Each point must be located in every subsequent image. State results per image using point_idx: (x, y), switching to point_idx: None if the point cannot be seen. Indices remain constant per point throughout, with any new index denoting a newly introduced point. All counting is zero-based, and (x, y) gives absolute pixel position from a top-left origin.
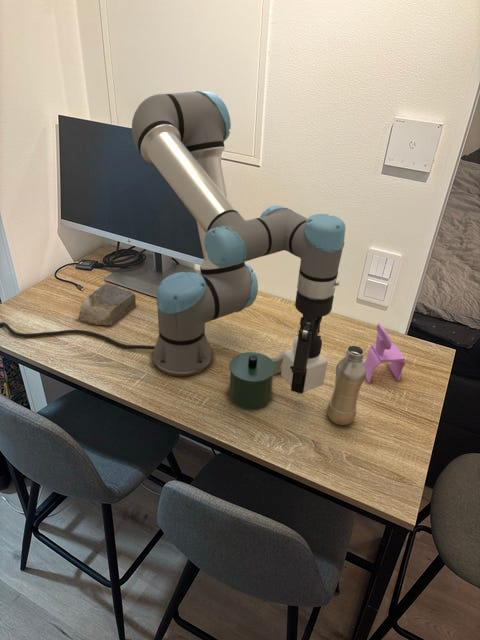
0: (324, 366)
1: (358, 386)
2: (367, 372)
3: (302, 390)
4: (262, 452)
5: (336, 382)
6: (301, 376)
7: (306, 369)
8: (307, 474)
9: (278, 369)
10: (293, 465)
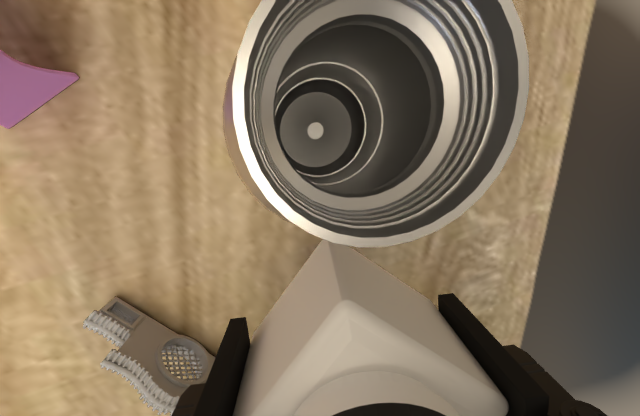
0: (360, 293)
1: (381, 48)
2: (32, 91)
3: (461, 305)
4: (522, 279)
5: (368, 183)
6: (562, 388)
7: (537, 400)
8: (556, 155)
9: (211, 367)
10: (538, 197)
